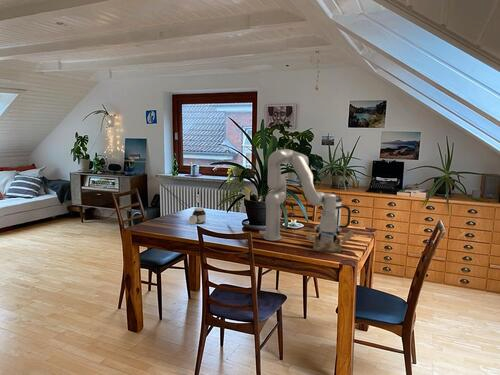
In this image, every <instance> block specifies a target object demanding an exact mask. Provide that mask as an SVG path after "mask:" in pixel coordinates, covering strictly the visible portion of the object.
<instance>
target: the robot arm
mask: <svg viewBox="0 0 500 375" xmlns="http://www.w3.org/2000/svg"><path fill="white" fill-rule="evenodd" d="M282 163H289V164H291V165H292V167H293V169H294V171H295V173H296V174H297V176H298V178H299V180H300V183H301V184H300V185H301V188H302V191H303V194H304V195H305V198H306V200H307V201H308V203H309V205H312V206H314V207H315V206H316V207H317V206H318V205H321V204H322V211H320V214H321V216H320V220H319V221H320V222H319V224H317V225H314V227H313V229H314V230H315V233H318V239H319V241H320V237H321V232H330V233H334V234H335V235H334V242H335V240H336V239H337V235H338V234H339V235H340V234H341V233H342V231H343V228H340V227H339V226H337V219H336V216H335V209H336V193H335V194H332V193H331V192H330V193H327V192H323V191H317V190H316V189H315V185H314V174H313V172H312V170H311V168H310V167H309V163H310V161H309V157H308V156H307V155H305V154H304V153H301V152H298V151H295V150H292V149H289V148H284V149H282V148H281V149H278V150H275V151H273V152H272V153H271V154H270V155H269V157H268V159H267V186H268V189H270V190H272V191H271V192H269V193H267V194H266V196H265V199H264V200H265V211H266V212H265V230H259V232H258V233H259V234H260V235H263V236H262V238H263V239H264V240H266V241H273V242H274V241H280V240H282V238H283V236H282V235H281V234H280V232H281V204H283V203H284V202H285V201H286V198H287V179H286V177H285V176H284V175H283V174H282V168H281V164H282ZM318 228H319V229H318ZM336 228H337V229H339V231H338V232H336Z"/></svg>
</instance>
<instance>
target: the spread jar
mask: <svg viewBox="0 0 500 375" xmlns="http://www.w3.org/2000/svg"><path fill="white" fill-rule="evenodd" d="M206 216H207V213H206V211H205V208H204V207H201V206H198V207H197V206H196V207H194V211H193V212H192V215H190V216H189V218H188V223H189V225H192V226H193V225H195V224H196V225H203V224H204V223H205V222H206V218H207V217H206Z"/></svg>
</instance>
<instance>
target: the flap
mask: <svg viewBox="0 0 500 375" xmlns="http://www.w3.org/2000/svg"><path fill="white" fill-rule="evenodd" d="M353 236H354V232H353V229H352V228H351V229H350V230H349V231H348V232H346V233H345V234H343V235H342V237H341V243H342V244H345V243H346V242H347V241H348V240H350V239H351V238H352V237H353Z"/></svg>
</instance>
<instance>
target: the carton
mask: <svg viewBox="0 0 500 375" xmlns="http://www.w3.org/2000/svg"><path fill="white" fill-rule="evenodd" d="M316 233H317V232H316ZM334 235H335V234H334ZM305 239H306V240H308V241H311V242H312V243H313V246H312V251H317V252H319V251H320V252H329V253H339V254H342V245H343V243H342V237H339V236H338V235H337V239H336V240H335V242H334V243H322V242H320V241H319V239H318V233H317V234H316V235H313V234H311V233H308V232H306V238H305Z"/></svg>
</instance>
